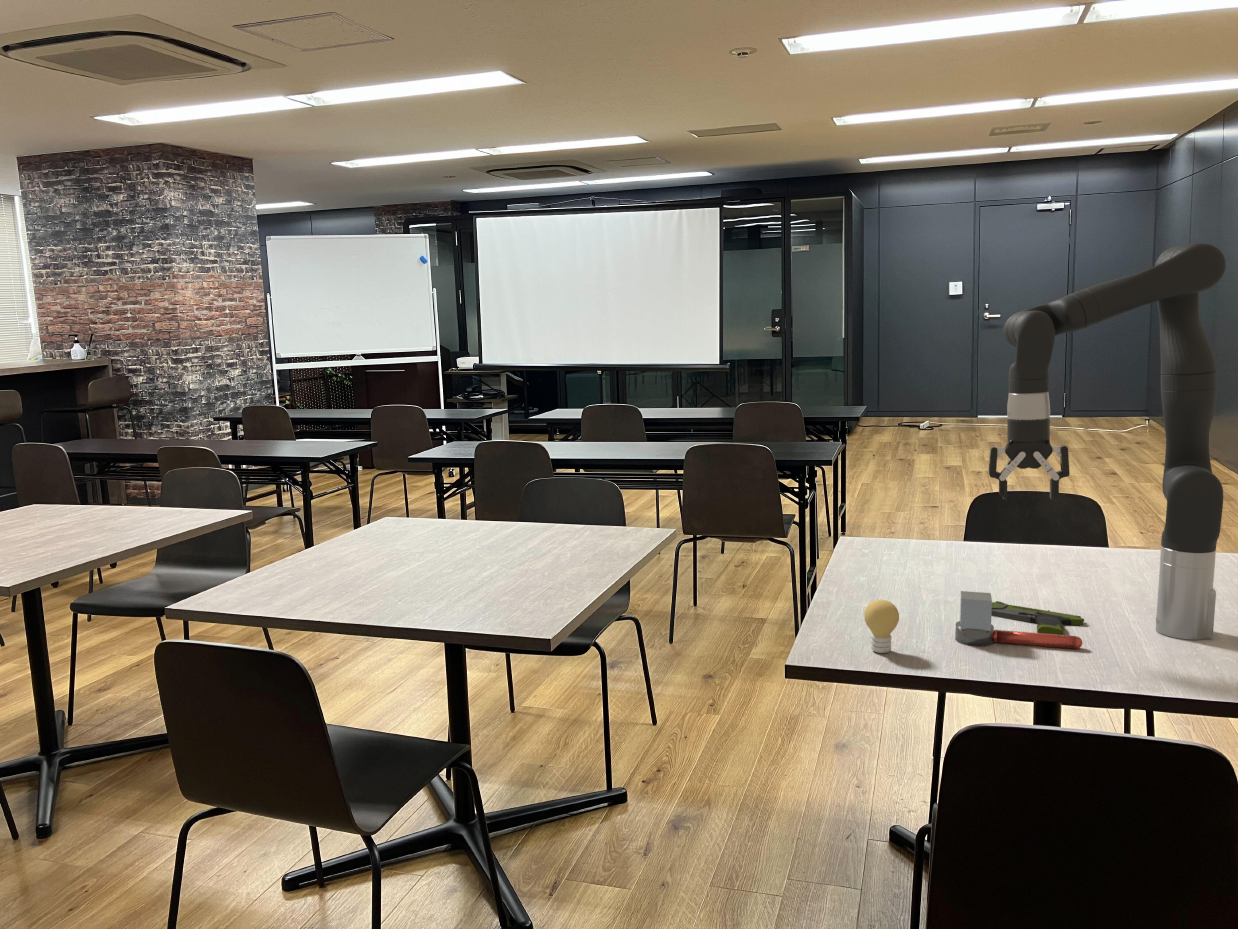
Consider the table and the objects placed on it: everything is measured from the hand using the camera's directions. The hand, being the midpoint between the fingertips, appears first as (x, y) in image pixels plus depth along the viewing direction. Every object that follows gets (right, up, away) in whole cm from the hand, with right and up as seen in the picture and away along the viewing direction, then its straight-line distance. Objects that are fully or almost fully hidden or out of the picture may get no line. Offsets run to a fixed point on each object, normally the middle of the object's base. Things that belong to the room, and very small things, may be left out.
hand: (1028, 499), depth 185 cm
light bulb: (-30, -29, -4) cm, 42 cm away
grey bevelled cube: (-10, -25, +1) cm, 27 cm away
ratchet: (-3, -28, -1) cm, 28 cm away
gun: (+5, -27, +12) cm, 29 cm away
